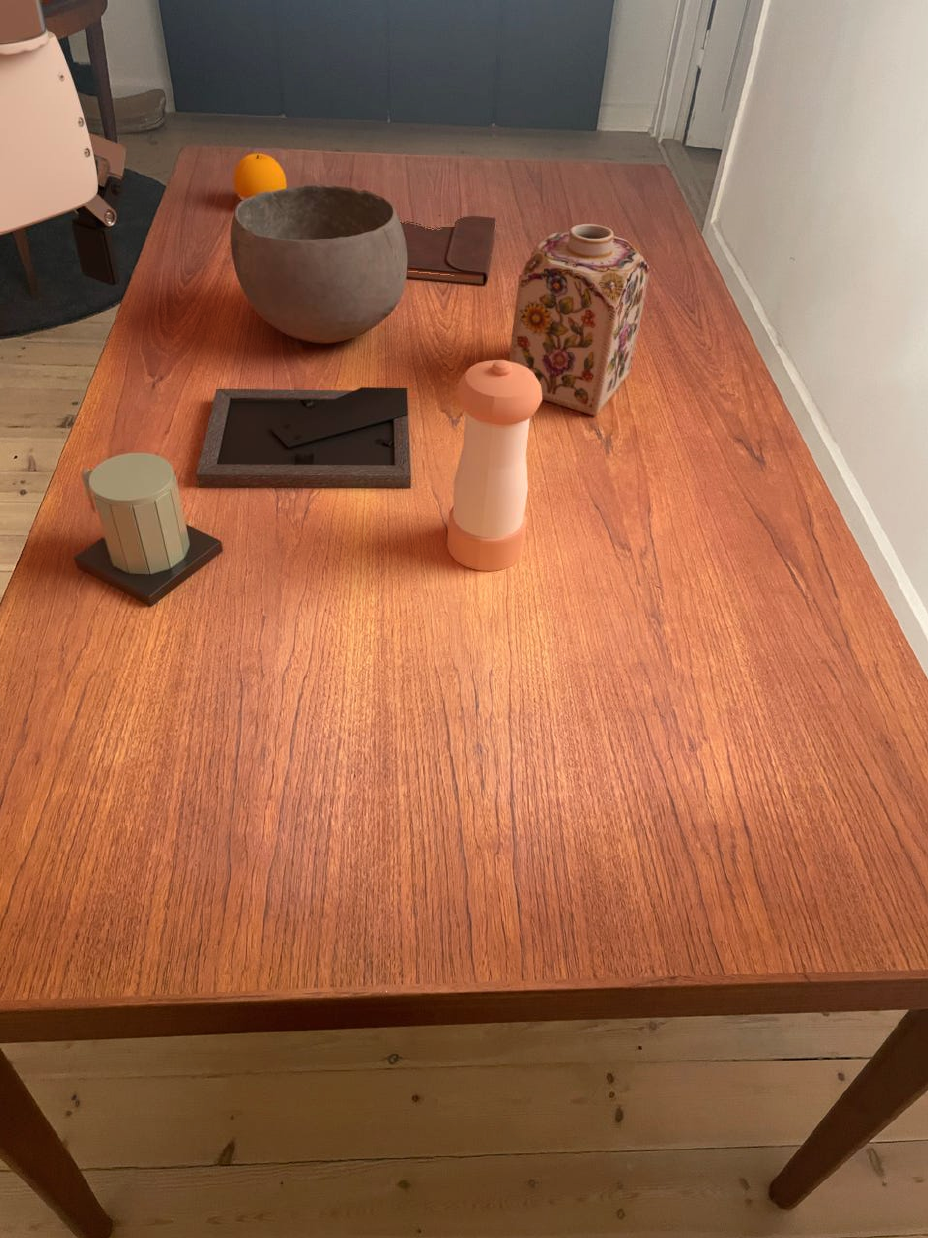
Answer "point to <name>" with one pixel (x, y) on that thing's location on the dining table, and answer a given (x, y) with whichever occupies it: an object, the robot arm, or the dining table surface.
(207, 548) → the cup stand
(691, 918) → the dining table surface
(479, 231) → the notebook
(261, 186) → the orange
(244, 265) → the bowl
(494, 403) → the pepper shaker
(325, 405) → the picture frame
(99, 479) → the cup
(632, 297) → the decorative jar
